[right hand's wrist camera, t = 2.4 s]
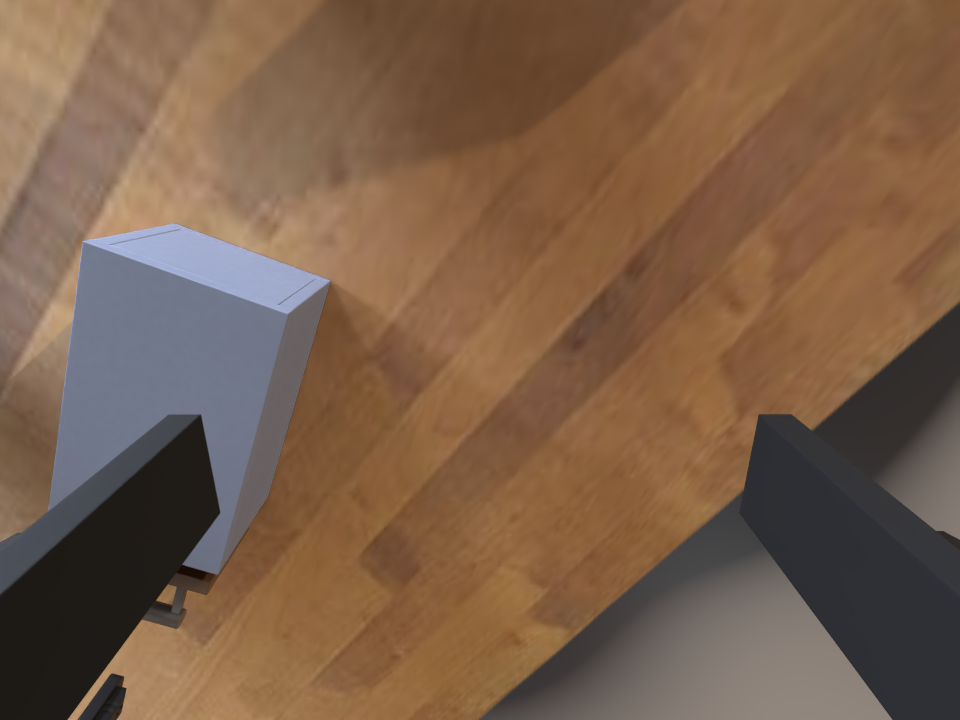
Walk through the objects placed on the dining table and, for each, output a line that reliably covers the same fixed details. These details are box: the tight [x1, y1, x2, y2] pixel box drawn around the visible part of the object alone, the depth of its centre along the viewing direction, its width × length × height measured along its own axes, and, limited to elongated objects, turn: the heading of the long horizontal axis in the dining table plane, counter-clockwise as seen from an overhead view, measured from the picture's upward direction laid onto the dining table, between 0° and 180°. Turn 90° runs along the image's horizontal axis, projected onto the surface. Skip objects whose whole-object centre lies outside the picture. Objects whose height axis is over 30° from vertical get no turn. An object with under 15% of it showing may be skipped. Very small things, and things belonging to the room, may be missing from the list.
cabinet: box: [48, 224, 331, 575], centre depth 36 cm, size 19×11×9 cm, turn 159°
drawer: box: [142, 527, 249, 629], centre depth 38 cm, size 24×10×7 cm, turn 159°
